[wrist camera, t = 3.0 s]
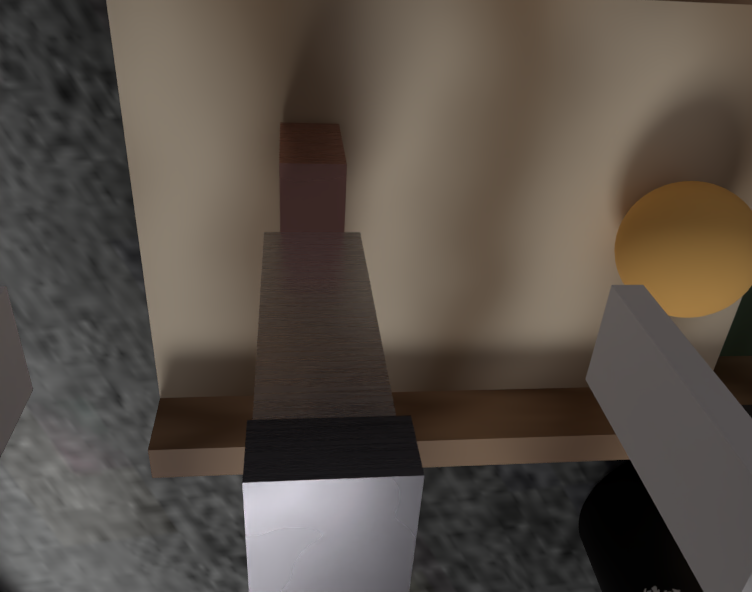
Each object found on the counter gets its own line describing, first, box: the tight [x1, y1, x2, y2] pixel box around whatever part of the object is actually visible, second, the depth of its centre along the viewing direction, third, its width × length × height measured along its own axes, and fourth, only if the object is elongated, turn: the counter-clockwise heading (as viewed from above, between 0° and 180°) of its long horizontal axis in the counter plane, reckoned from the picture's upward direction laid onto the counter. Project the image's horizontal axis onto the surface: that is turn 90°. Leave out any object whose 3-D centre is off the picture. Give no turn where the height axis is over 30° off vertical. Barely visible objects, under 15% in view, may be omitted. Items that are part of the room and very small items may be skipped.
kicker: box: [242, 122, 424, 592], centre depth 16 cm, size 2×6×12 cm, turn 177°
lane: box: [106, 0, 752, 478], centre depth 22 cm, size 28×16×5 cm, turn 87°
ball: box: [614, 181, 752, 318], centre depth 21 cm, size 4×4×4 cm
